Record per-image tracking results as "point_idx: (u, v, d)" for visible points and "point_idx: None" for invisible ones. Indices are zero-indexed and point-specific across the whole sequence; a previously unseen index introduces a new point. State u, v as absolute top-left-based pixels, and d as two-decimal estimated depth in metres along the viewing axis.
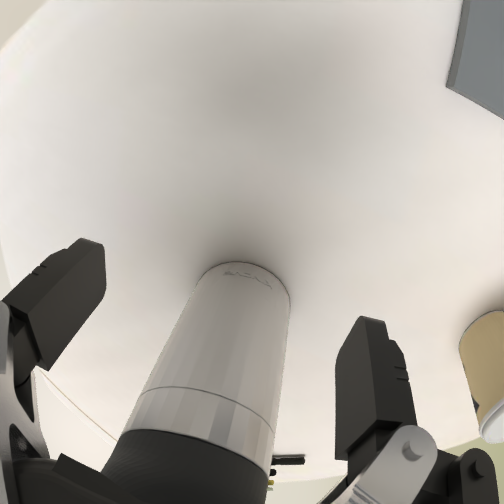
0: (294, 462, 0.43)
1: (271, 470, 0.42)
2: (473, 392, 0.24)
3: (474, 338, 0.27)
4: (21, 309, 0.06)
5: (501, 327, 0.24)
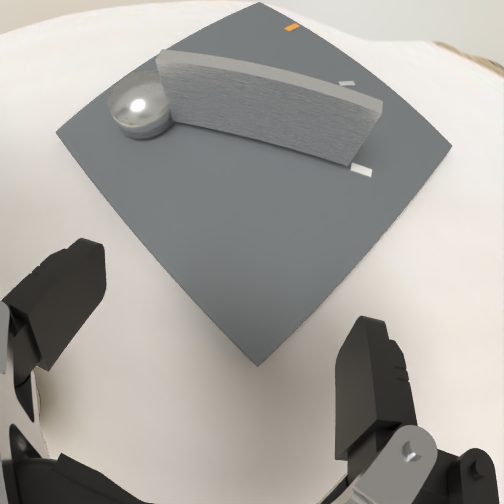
0: None
1: None
2: None
3: None
4: (21, 309, 0.06)
5: None
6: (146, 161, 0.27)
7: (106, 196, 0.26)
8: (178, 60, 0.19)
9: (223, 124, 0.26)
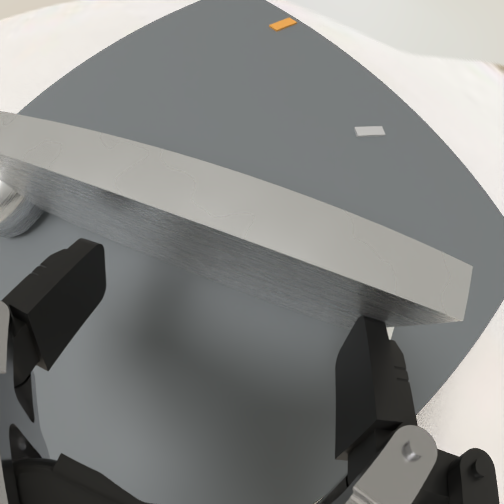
0: None
1: None
2: None
3: None
4: (21, 309, 0.06)
5: None
6: (9, 277, 0.14)
7: None
8: None
9: (103, 233, 0.13)
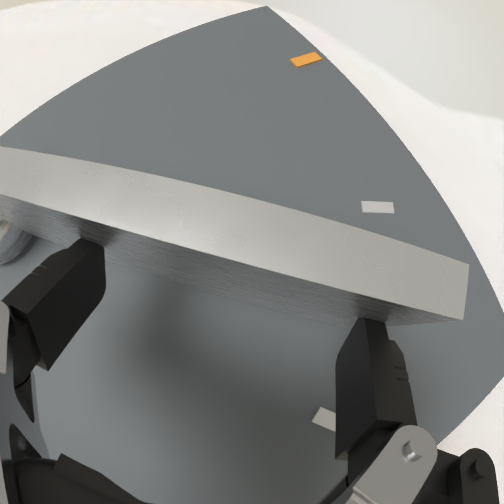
0: None
1: None
2: None
3: None
4: (21, 309, 0.06)
5: None
6: None
7: None
8: None
9: None
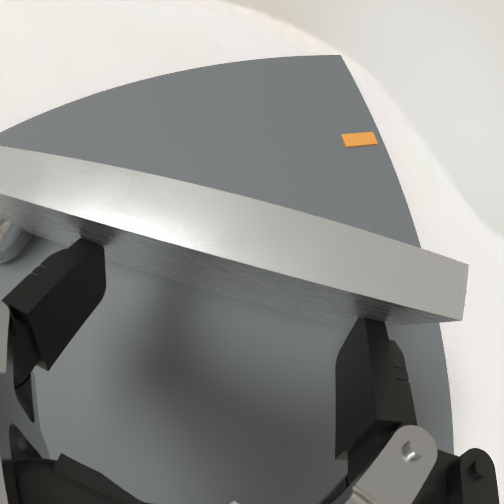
0: None
1: None
2: None
3: None
4: (21, 309, 0.06)
5: None
6: None
7: None
8: None
9: None
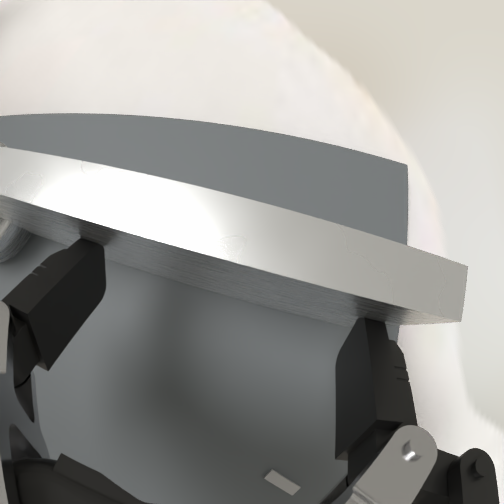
0: None
1: None
2: None
3: None
4: (21, 309, 0.06)
5: None
6: None
7: None
8: None
9: None
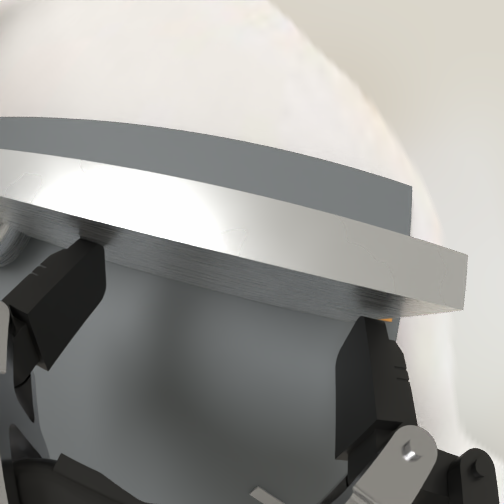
0: None
1: None
2: None
3: None
4: (21, 309, 0.06)
5: None
6: None
7: None
8: None
9: None
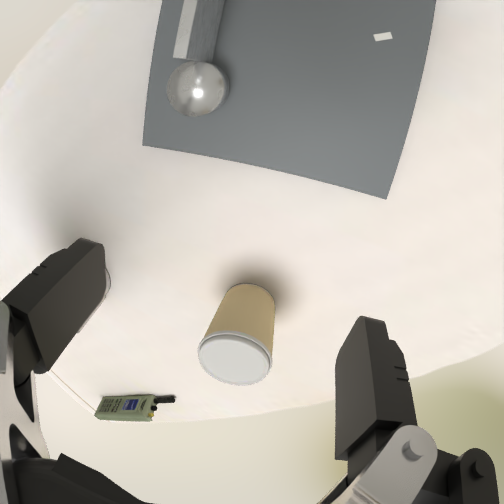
0: (166, 400, 0.64)
1: (152, 406, 0.64)
2: None
3: None
4: (21, 309, 0.06)
5: (234, 295, 0.44)
6: (234, 119, 0.34)
7: (228, 158, 0.36)
8: (186, 39, 0.22)
9: (217, 20, 0.27)
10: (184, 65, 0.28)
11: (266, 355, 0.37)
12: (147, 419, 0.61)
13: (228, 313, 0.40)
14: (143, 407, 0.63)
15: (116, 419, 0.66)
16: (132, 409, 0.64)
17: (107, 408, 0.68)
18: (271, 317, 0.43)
